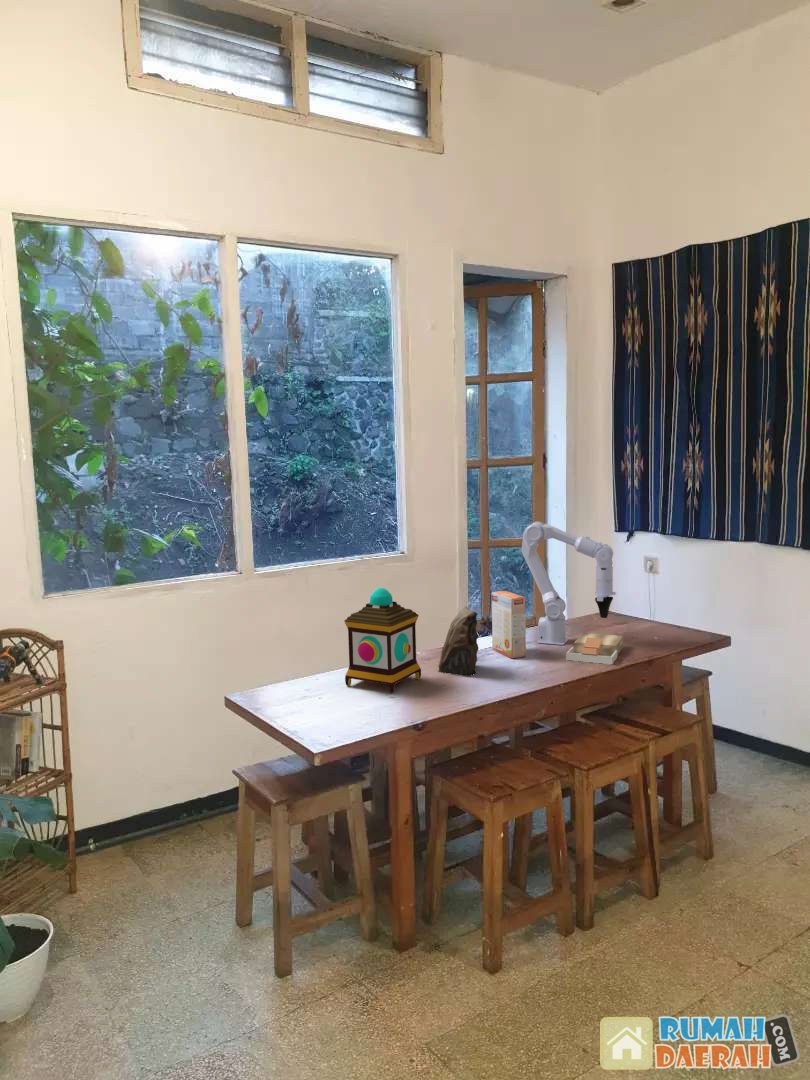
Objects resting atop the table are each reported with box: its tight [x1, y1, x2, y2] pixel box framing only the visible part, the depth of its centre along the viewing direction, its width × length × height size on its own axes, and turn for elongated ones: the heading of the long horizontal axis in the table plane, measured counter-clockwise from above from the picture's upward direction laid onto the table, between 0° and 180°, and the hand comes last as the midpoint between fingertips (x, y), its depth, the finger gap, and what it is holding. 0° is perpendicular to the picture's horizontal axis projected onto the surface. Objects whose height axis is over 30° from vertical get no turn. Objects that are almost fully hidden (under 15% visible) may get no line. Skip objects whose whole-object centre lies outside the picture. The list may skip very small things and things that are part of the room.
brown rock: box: [437, 605, 479, 677], centre depth 264 cm, size 13×13×20 cm
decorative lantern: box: [344, 587, 422, 694], centre depth 253 cm, size 20×20×30 cm
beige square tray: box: [573, 632, 624, 656], centre depth 285 cm, size 14×14×4 cm
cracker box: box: [491, 590, 527, 659], centre depth 283 cm, size 14×6×21 cm, turn 22°
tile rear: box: [584, 637, 602, 653], centre depth 276 cm, size 5×5×2 cm
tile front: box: [581, 647, 599, 655], centre depth 273 cm, size 5×5×2 cm
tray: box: [565, 646, 618, 665], centre depth 274 cm, size 15×9×2 cm, turn 65°
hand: (604, 617), depth 291 cm, fingers closed
